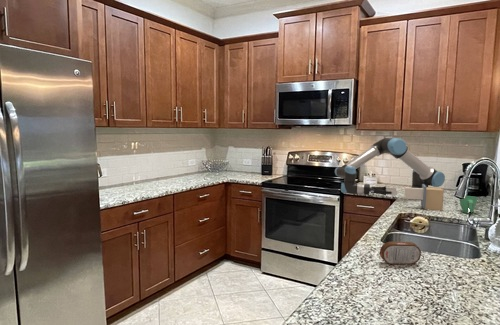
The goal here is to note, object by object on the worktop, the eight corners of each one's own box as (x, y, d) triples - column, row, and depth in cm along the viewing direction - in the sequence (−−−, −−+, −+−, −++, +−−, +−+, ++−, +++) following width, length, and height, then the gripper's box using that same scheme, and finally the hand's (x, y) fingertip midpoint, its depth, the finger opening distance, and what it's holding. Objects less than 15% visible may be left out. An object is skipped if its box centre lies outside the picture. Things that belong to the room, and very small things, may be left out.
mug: (457, 210, 218) (458, 195, 217) (474, 211, 214) (475, 196, 213) (461, 215, 205) (462, 199, 204) (480, 216, 201) (481, 200, 200)
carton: (440, 207, 225) (441, 188, 223) (442, 211, 215) (443, 190, 214) (423, 206, 228) (424, 187, 227) (425, 209, 219) (426, 189, 218)
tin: (417, 262, 128) (418, 241, 128) (421, 265, 125) (423, 243, 124) (378, 262, 128) (379, 240, 128) (382, 265, 125) (383, 243, 124)
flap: (423, 204, 229) (424, 184, 227) (425, 208, 217) (426, 186, 216) (403, 203, 233) (404, 182, 232) (404, 207, 221) (405, 185, 220)
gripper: (364, 191, 246) (395, 193, 238) (362, 197, 223) (397, 200, 215) (364, 181, 245) (396, 183, 237) (363, 186, 222) (397, 188, 214)
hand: (396, 191), depth 226 cm, fingers open, 13 cm apart
